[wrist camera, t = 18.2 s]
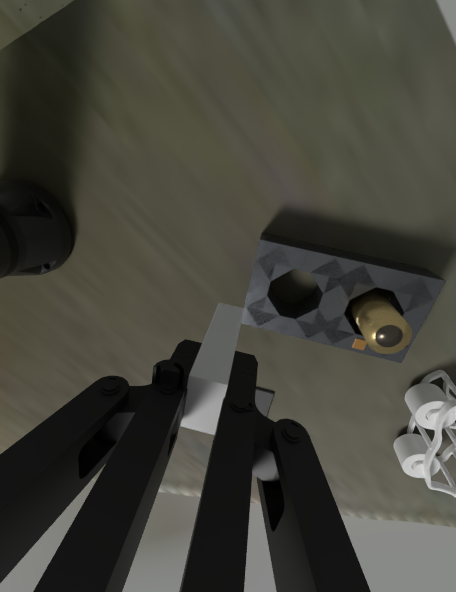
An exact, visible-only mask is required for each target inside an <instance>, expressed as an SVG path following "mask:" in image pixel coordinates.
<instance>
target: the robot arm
mask: <svg viewBox="0 0 456 592" xmlns="http://www.w3.org/2000/svg"><path fill="white" fill-rule="evenodd" d="M70 250H71V231H70V227H69V224H68V221H67V218H66V216H65V214H64V212H63V211H62V209H61V207H60V206H59V205H58V203H57V202H56V201H55V200H54V199H53V198H52V197H51V196H50V195H49V194H48V193H47V192H46V191H45V190H43V189H42V188H40V187H38V186H37V185H35V184H32V183H30V182H26V181H22V180H4V181H0V278H2V277H5V276H23V275H41V274H45V273H48V272H50V271H52V270H55V269H57V268H59V267H60V266H61V265H62V264H63V263H64V262H65V261H66V260H67V258H68V256H69V253H70ZM243 311H244V308H240V307H236V306H231V305H227V304H223V303H219V304H218V306H217V309H216V311H215V314H214V316H213V318H212V321H211V323H210V326H209V328H208V331H207V333H206V335H205V338H204V340H203V343H199V342H195V341H190V340H186V339H185V340H184V341H182V342H181V343H179V344H178V346H177V347H176V349H175V352H174V353H173V355H172V357H171V358H170V360H162V361H160V362H158V363H157V364H156V365H155V366H154V367H153V377H152V384H149V385H146V386H129V384H128V382H127V380H125V379H124V378H123V377H119V376H107V377H103V378H101V379H99V380H97V381H96V382H94V383H93V384H92V385H90V386H89V387H88V388H86V389H85V390H84V391H83V392H81V393H80V394H79V395H77V396H76V397H75V398H73V399H72V400H71V401H69V402H68V403H67V404H66V405H64V406H63V407H62V408H60V409H59V410H58V411H56V412H55V413H54V414H53V415H51V416H50V417H49V418H47V419H46V420H45V421H43V422H42V423H41V424H39V425H38V426H37V427H36V428H34V429H33V430H32V431H30V432H29V433H28V434H26V435H25V436H24V437H23V438H21V439H20V440H19V441H17V442H16V443H15V444H13V445H12V446H11V447H9V448H8V449H7V450H6V451H4V452H3V453H2V454H0V583H1V582H2V581H3V579H4V578H5V577H6V576H7V575H8V574H9V573H10V572H11V570H12V569H13V568H14V567H15V566H16V565H17V563H18V562H19V561H20V560H21V559H22V558H23V557H24V556H25V554H26V553H27V552H28V551H29V550H30V548H32V546H33V545H34V544H35V543H36V542H37V541H38V540H39V539H40V537H41V536H42V535H43V534H44V533H45V532H46V531H47V530H48V528H49V527H50V526H51V525H52V524H53V523H54V522H55V520H56V519H57V518H58V517H59V516H60V515H61V514H62V512H63V511H64V510H65V509H66V508H67V507H68V506H69V504H70V503H71V502H72V501H73V500H74V499H75V498H76V496H77V495H78V494H79V493H80V492H81V491H82V490H83V489H84V487H85V486H86V485H87V484H88V483H89V482H90V481H91V479H92V478H93V477H94V476H95V475H96V474H97V473H98V472H99V470H100V469H101V468H102V467H103V466H104V465H105V464H106V465H105V467H104V468H103V470H102V472H101V474H100V475H99V477H98V479H97V481H96V482H95V484H94V486H93V488H92V490H91V491H90V493H89V495H88V496H87V498H86V500H85V502H84V504H83V505H82V507H81V509H80V511H79V512H78V514H77V516H76V518H75V520H74V521H73V523H72V525H71V527H70V528H69V530H68V532H67V533H66V535H65V537H64V539H63V540H62V542H61V544H60V546H59V547H58V549H57V551H56V553H55V555H54V556H53V558H52V560H51V562H50V563H49V565H48V567H47V569H46V570H45V572H44V574H43V576H42V577H41V579H40V581H39V583H38V584H37V586H36V588H35V590H34V592H122V590H123V588H124V585H125V582H126V579H127V576H128V574H129V571H130V567H131V565H132V562H133V559H134V557H135V554H136V551H137V548H138V545H139V543H140V540H141V537H142V534H143V532H144V529H145V526H146V523H147V520H148V518H149V514H150V512H151V509H152V506H153V504H154V501H155V498H156V495H157V492H158V490H159V487H160V484H161V481H162V478H163V476H164V473H165V470H166V467H167V464H168V462H169V459H170V456H171V453H172V450H173V448H174V445H175V442H176V439H177V434H178V429H179V426H180V423H181V426H182V427H186V428H190V429H193V430H197V431H201V432H205V433H209V434H212V435H215V436H214V440H213V444H212V449H211V453H210V457H209V462H208V466H207V471H206V475H205V480H204V484H203V489H202V493H201V498H200V502H199V507H198V512H197V516H196V520H195V524H194V529H193V534H192V538H191V542H190V547H189V551H188V556H187V561H186V565H185V569H184V574H183V578H182V583H181V587H180V591H179V592H244V581H245V567H246V553H247V539H248V524H249V511H250V496H251V482H252V474H254V475H255V476H257V483H258V489H259V495H260V500H261V505H262V511H263V517H264V522H265V528H266V534H267V539H268V545H269V551H270V556H271V562H272V568H273V573H274V579H275V585H276V590H277V592H370V589H369V586H368V584H367V581H366V579H365V576H364V574H363V571H362V569H361V566H360V563H359V561H358V558H357V556H356V553H355V551H354V548H353V546H352V543H351V541H350V538H349V536H348V533H347V531H346V528H345V525H344V523H343V520H342V518H341V515H340V513H339V510H338V508H337V505H336V502H335V500H334V497H333V495H332V492H331V490H330V487H329V485H328V482H327V480H326V477H325V475H324V472H323V469H322V467H321V464H320V462H319V459H318V457H317V454H316V452H315V449H314V447H313V444H312V442H311V439H310V436H309V434H308V433H307V431H306V429H305V428H304V427H303V426H302V425H301V424H299V423H298V422H296V421H294V420H290V419H280V420H279V421H277V422H274V421H272V420H270V419H268V418H267V417H265V416H264V415H263V414H262V413H261V412H260V411H259V410H258V408H257V406H256V404H255V393H256V380H257V367H258V362H257V360H256V358H255V356H254V355H250V354H246V353H242V352H238V351H235V349H236V344H237V339H238V334H239V330H240V325H241V320H242V315H243ZM106 462H107V463H106Z"/></svg>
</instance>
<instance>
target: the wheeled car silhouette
mask: <svg viewBox="0 0 456 592" xmlns="http://www.w3.org/2000/svg"><path fill="white" fill-rule="evenodd" d="M439 377H441V378H442V379H443V380H444V382H443V391H444V392H443V391H442V390H441V389H440V388H439V387H438V386H436V385H434V384H430V382H431V381H433V380H435V379H437V378H439ZM449 388H450V389H451V390H452V391H453V393H454V394H455V395H456V386H455V385H454V383H453V382H452V381H451V380H450V377H449V376H448V375H447V374H446V372H445V371H443V370H437V371H434V372H432V373H430V374H428V375H427V376H425V377H424V378H423V380H422V381H421V382H420V384H417V385H414V386H413V387H411V388H410V389H409V390H408V391H407V392H406V394H405V401H406V403H407V405H408V407H409V409H410V411H411V412H412V414H413V415H412V417H411V420H410V422H409V425H408V429H407V434H405V435H402V436H400V437H398V438H397V439H396V440H395V442H394V449H395V452H396V454H397V457H398V459H399V461H400V464H401V466H402V468H403V470H404V472H405V473H406V474H408V475H410V476H412V477H416V478H425V481H426V483H427V485H428V487H429V488H430V489H432V490H439V491H442V492H445V493H448V494H451V495H453V496H454V497H455V498H456V484H455V483H454V481H453V479H452V477H451V476H450V474H449V472H448V470H447V469H446V467H445V465H444V463H443V462H445V461H447V460H448V458H449V457H450V456H451V455H452V454H453V455H454V457H455V458H456V436H455V435H454V433H453V432H452V430H451V429H456V422H455V420H456V399H455V398H454V397H453V396H452V395H451V394H450V393H449ZM444 393H445V394H444ZM415 425H416V426H417V427H418V429H419V431H420V433H421V435H422V436H421V435H418V434H413V431H414V428H415ZM423 427H424V428H426V429H431V430H435V435H434V439H433V441H432V442H431V440H430V438H429V436H428V435H427V433H426V431H425V429H424V428H423ZM443 428H444V429H445V430H446V432H447V433H448V435H449V436H450V438H451V440H452V441H453V443H452V444H451V445H450V446H449V447H448V448H446V449H445V450H444V452H443V454H442V455H440V456H437V457H436V455H435V454H436V452H437V450H438V449H439V447H440V445H441V442H442V433H441V432H442V429H443ZM440 468H441V469H442V471H443V473H444V475H445V477H446V479H447V480H448V482H449V484H450V486H451V487H450V486H448V485H445V484H442V483H439V482H435V481H431V477H430V476H432V475H434V474H436V473H437V472H438V470H439V469H440Z"/></svg>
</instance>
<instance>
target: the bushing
mask: <svg viewBox="0 0 456 592" xmlns="http://www.w3.org/2000/svg"><path fill="white" fill-rule="evenodd" d="M347 306H348V308H349V310H350V311H351V313H352V315H353V317H354V319H355V321H356V323H357V325H358V327H359V329H360V331H361V333H362V335H363V336H364V338H365V340H366V342H367V344H368V346H369V347H370V348H371V349H372V350H374V351H375V352H378V353H381V354H392V353H396V352H399V351H401V350H402V349H404V348H405V347H406V346H407V345H408V344H409V342H410V341H411V338H412V329H411V327H410V325H409V324H408V323H407V322H406V321H405V320H404V318H403V317H402V316H401V315H400V314H399V313H398V311H397V310H396V309H395V308H394V307H393V306H392V305H391V303H390V302H389V301H388V300H387V299H386V298H385V296H384V295H383V294H382V293H381V292H380V291H379V290H378V288H376V287H375V288H373V289H371V290H369V291H367V292H365V293H363V294H361V295H359V296H357V297H355V298H353V299H350V300H349V302H348V305H347Z"/></svg>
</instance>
